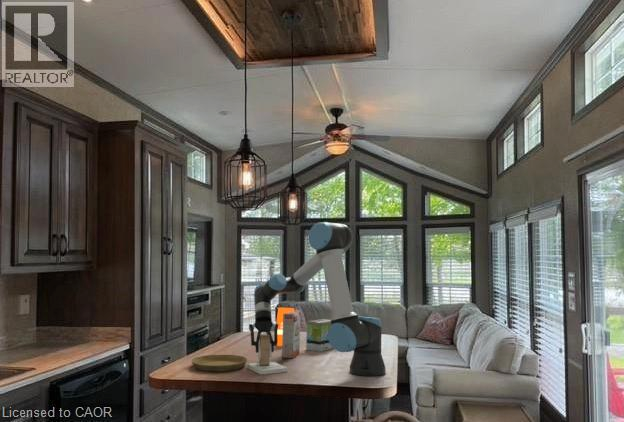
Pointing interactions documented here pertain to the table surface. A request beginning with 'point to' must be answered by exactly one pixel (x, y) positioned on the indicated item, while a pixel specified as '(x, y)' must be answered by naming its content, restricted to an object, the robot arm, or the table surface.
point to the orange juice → (281, 323)
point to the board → (267, 368)
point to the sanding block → (265, 350)
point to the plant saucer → (219, 362)
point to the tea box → (318, 335)
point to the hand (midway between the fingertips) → (265, 358)
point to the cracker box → (291, 334)
